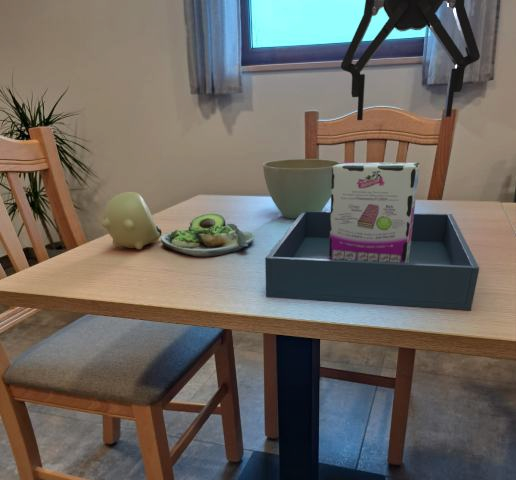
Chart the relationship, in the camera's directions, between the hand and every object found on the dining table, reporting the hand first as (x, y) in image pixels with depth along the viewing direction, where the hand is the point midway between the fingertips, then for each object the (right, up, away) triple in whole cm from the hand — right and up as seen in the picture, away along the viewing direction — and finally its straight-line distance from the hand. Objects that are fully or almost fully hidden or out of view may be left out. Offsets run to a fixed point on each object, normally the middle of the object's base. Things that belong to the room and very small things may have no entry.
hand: (402, 118), depth 75 cm
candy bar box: (-7, -27, -5) cm, 28 cm away
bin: (-5, -24, +2) cm, 24 cm away
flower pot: (-13, -5, +39) cm, 41 cm away
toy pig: (-48, -17, +18) cm, 54 cm away
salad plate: (-34, -17, +18) cm, 42 cm away
